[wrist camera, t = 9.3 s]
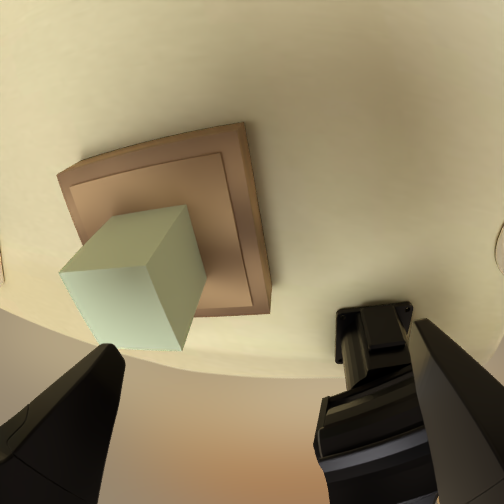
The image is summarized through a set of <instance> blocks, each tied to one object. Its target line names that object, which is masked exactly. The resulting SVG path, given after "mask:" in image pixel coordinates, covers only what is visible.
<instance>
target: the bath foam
mask: <svg viewBox="0 0 504 504" xmlns="http://www.w3.org/2000/svg"><path fill="white" fill-rule="evenodd" d="M496 262H497V265H498V267H499V269H500V271H501V272H502V273H503V275H504V226H503V228H502V230H501V233H500V235H499V238H498V241H497V245H496Z"/></svg>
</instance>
